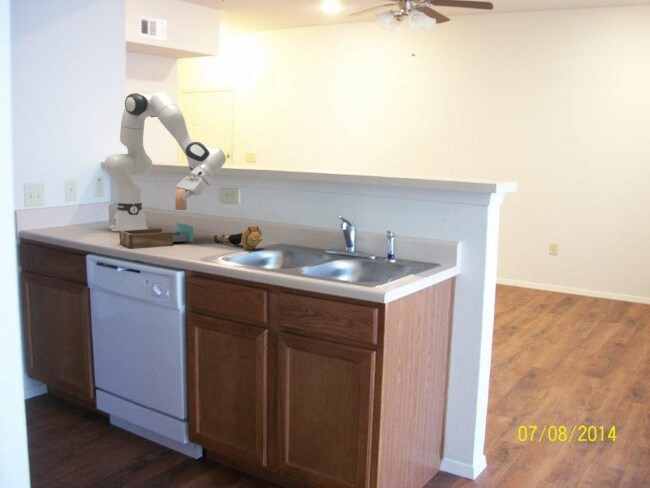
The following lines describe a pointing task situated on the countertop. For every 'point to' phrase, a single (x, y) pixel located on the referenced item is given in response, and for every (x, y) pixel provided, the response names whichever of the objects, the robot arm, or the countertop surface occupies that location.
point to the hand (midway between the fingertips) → (179, 198)
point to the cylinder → (179, 202)
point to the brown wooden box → (145, 238)
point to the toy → (243, 238)
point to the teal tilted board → (183, 233)
